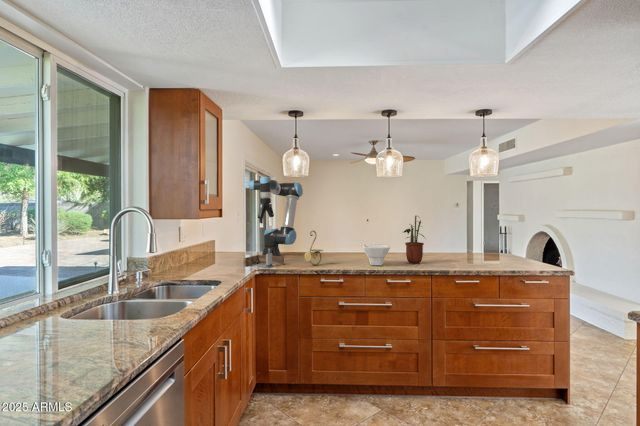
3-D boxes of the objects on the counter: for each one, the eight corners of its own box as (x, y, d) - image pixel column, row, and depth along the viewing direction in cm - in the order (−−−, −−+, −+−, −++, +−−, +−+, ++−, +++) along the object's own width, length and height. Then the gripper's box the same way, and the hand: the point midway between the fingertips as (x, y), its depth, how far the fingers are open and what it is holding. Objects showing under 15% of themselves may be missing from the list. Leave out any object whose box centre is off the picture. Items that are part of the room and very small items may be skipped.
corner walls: (257, 262, 286) (257, 254, 286) (283, 264, 277) (283, 256, 277) (243, 266, 269) (243, 258, 269) (271, 268, 261) (270, 259, 260)
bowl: (362, 263, 282) (362, 244, 282) (389, 263, 280) (389, 244, 280) (362, 267, 264) (362, 247, 263) (391, 267, 261) (391, 247, 261)
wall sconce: (312, 267, 266) (312, 231, 265) (303, 265, 272) (303, 230, 272) (326, 264, 276) (326, 230, 275) (317, 263, 282) (316, 229, 282)
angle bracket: (272, 265, 271) (272, 253, 270) (267, 267, 265) (267, 254, 265) (261, 265, 274) (261, 252, 274) (256, 266, 269) (256, 253, 268)
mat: (260, 264, 277) (260, 264, 277) (276, 265, 271) (276, 265, 271) (253, 266, 267) (253, 266, 267) (269, 268, 262) (269, 267, 262)
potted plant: (409, 261, 290) (409, 215, 290) (429, 263, 282) (429, 215, 281) (400, 264, 276) (400, 215, 275) (421, 266, 267) (421, 216, 266)
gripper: (269, 197, 296) (270, 224, 297) (252, 198, 272) (253, 228, 274) (277, 197, 293) (278, 225, 294) (261, 198, 270) (262, 228, 271)
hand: (266, 226), depth 284 cm, fingers open, 13 cm apart
